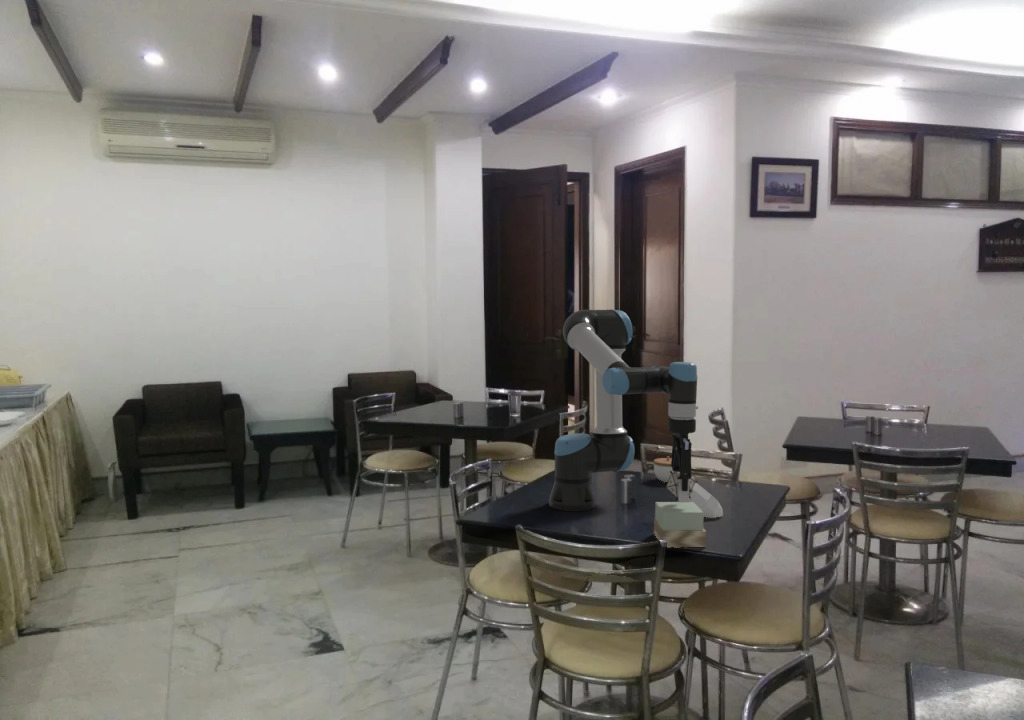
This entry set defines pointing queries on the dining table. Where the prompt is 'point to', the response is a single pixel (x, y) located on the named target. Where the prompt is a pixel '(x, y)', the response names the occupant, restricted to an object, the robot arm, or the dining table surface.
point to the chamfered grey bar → (706, 502)
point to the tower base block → (680, 537)
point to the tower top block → (679, 516)
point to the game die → (677, 484)
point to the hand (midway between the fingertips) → (680, 497)
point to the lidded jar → (663, 468)
